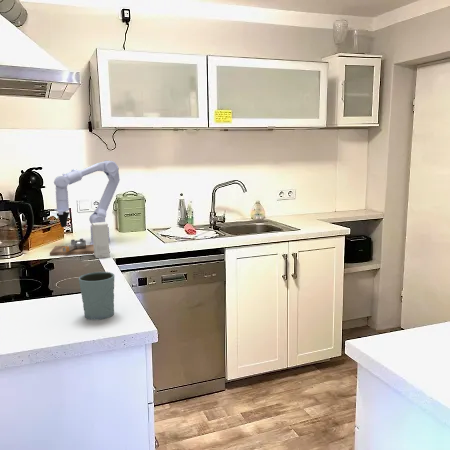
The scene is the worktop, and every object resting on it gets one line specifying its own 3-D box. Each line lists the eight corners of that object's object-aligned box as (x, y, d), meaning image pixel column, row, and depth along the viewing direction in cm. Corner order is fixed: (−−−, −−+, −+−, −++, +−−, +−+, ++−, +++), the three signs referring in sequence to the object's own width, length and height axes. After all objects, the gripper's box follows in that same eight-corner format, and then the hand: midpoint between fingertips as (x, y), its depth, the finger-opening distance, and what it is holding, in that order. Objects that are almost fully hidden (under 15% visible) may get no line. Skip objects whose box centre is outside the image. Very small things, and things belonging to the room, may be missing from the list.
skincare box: (110, 257, 209) (108, 224, 207) (95, 258, 207) (93, 224, 204) (107, 253, 217) (106, 221, 214) (93, 254, 214) (91, 222, 212)
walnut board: (96, 247, 231) (96, 244, 231) (94, 253, 216) (94, 250, 216) (55, 249, 227) (55, 245, 227) (49, 255, 213) (49, 252, 212)
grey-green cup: (122, 314, 137) (121, 275, 135) (93, 323, 129) (90, 283, 128) (103, 306, 144) (101, 269, 142) (74, 315, 136) (72, 276, 134)
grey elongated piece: (76, 245, 227) (75, 238, 226) (88, 246, 225) (88, 238, 224) (57, 252, 212) (57, 244, 211) (71, 253, 210) (70, 245, 209)
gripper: (56, 198, 234) (58, 224, 236) (51, 201, 220) (53, 229, 222) (70, 198, 236) (72, 224, 238) (66, 201, 221) (68, 229, 224)
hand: (63, 226), depth 230 cm, fingers closed
